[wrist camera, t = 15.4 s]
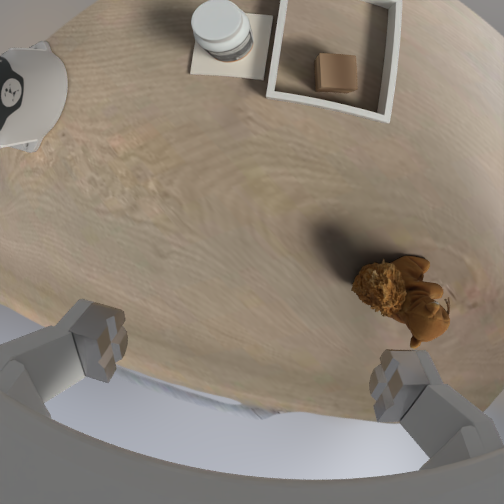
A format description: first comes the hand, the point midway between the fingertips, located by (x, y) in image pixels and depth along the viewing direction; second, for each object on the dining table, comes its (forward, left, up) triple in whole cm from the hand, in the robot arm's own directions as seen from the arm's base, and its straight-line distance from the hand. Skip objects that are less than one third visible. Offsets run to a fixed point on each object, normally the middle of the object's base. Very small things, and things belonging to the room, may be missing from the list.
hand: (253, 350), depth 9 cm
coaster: (-7, +16, -31) cm, 36 cm away
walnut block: (+5, +13, -31) cm, 34 cm away
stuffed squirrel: (+20, -12, -31) cm, 39 cm away
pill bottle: (-7, +16, -31) cm, 35 cm away
